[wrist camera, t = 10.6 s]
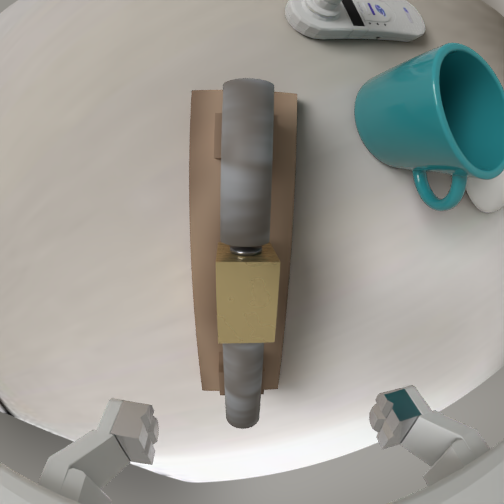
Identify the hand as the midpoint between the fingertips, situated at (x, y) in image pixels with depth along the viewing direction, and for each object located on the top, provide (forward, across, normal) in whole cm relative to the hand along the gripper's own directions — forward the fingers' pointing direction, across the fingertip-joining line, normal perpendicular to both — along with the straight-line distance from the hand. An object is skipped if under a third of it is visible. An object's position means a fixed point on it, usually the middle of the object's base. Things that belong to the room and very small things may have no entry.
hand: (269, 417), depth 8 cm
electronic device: (+17, +10, +24) cm, 31 cm away
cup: (+17, +13, +12) cm, 25 cm away
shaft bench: (+16, -1, 0) cm, 16 cm away
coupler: (+12, 0, 0) cm, 12 cm away
